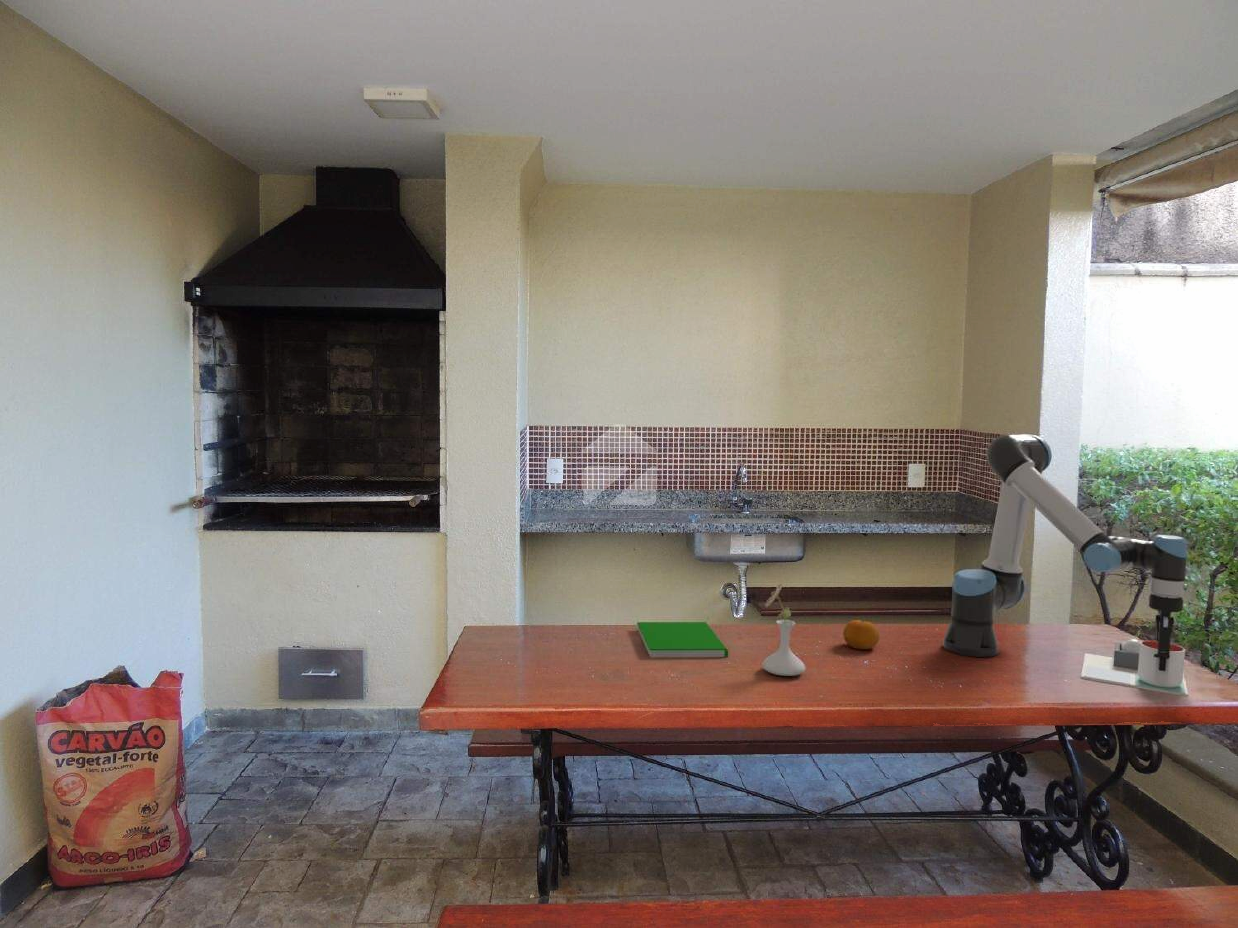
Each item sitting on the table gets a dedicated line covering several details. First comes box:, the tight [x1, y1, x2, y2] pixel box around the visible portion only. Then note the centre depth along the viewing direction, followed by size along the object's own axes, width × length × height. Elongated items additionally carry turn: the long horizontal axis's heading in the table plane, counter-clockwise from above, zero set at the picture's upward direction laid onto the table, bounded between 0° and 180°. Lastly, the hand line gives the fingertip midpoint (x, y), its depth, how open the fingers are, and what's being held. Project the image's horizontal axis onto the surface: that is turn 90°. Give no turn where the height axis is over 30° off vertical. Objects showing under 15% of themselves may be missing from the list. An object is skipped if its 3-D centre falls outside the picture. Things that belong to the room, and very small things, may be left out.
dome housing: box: [1113, 642, 1139, 670], centre depth 239 cm, size 9×9×4 cm
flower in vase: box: [761, 581, 806, 677], centre depth 225 cm, size 13×11×25 cm
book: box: [636, 621, 729, 658], centre depth 251 cm, size 22×28×3 cm
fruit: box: [842, 619, 880, 650], centre depth 251 cm, size 10×10×8 cm
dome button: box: [1121, 638, 1141, 653], centre depth 239 cm, size 6×6×6 cm
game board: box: [1080, 652, 1189, 697], centre depth 232 cm, size 24×25×5 cm
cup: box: [1138, 640, 1186, 688], centre depth 223 cm, size 10×10×10 cm
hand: (1160, 675), depth 223 cm, fingers open, 11 cm apart
